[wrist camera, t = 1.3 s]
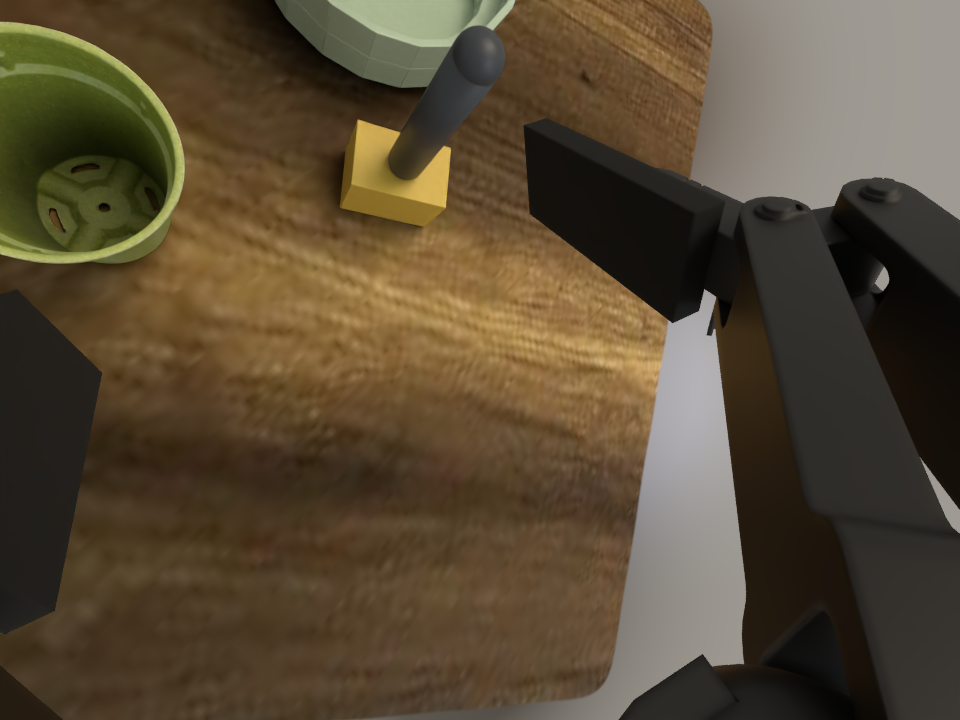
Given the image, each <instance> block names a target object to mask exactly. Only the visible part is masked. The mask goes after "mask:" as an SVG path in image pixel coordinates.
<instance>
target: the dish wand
mask: <svg viewBox="0 0 960 720" xmlns="http://www.w3.org/2000/svg"><path fill="white" fill-rule="evenodd" d="M504 64H505V51H504V47H503V44H502V42H501V40H500V38H499V37H498V35H497V34H496V33H495V32H494V31H493V30H491V29H490V28H488V27H485V26H481V25H476V26H471V27H468V28H466V29H465V30H463V31H462V32H461V33H460V34H459V35H458V36H457V38H456V39H455V41H454V43H453V44H452V46H451V48H450V49H449V51H448V53H447V55H446V56H445V58H444V60H443V61H442V63H441V65H440V66H439V68H438V70H437V72H436V73H435V75H434V77H433V78H432V80H431V82H430V83H429V85H428V87H427V89H426V90H425V92H424V94H423V95H422V97H421V99H420V100H419V102H418V104H417V106H416V107H415V109H414V111H413V112H412V114H411V116H410V118H409V119H408V121H407V123H406V124H405V126H404V128H403V129H402V131H401V133H400V132H397V131H393V130H390V129H387V128H384V127H380V126H377V125H374V124H371V123H367V122H364V121H361V120H357V123H356V125H355V128H354V130H353V133H352V136H351V138H350V141H349V143H348V146H347V149H346V152H345V162H344V171H343V181H342V191H341V201H340V208H343V209H347V210H352V211H356V212H361V213H365V214H369V215H374V216H378V217H383V218H387V219H391V220H396V221H400V222H405V223H409V224H414V225H418V226H422V227H424V226H426V225H427V224H428V223H429V222H430V221H431V220H432V219H434V218H435V217H436V216H437V215H438V214H439V213H440V212H442V211H443V210H444V209H445V208H446V199H447V187H448V176H449V165H450V154H451V148H449V147H445V146H444V145H445V144H446V142H447V141H448V140H449V139H450V138H451V136H452V135H453V134H454V133H455V131H456V130H457V129H458V128H459V127H460V125H461V124H462V123H463V122H464V120H465V119H466V118H467V117H468V116H469V114H470V113H471V112H472V111H473V109H474V108H475V107H476V106H477V105H478V103H479V102H480V101H481V100H482V98H483V97H484V96H485V95H486V94H487V92H488V91H489V90H490V89H491V87H492V86H493V85H494V84H495V83H496V81H497V80H498V79H499V77H500V75H501V74H502V71H503V68H504Z"/></svg>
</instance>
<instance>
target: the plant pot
mask: <svg viewBox="0 0 960 720" xmlns="http://www.w3.org/2000/svg"><path fill="white" fill-rule="evenodd" d="M88 163H94V164H97V165H99V167H100V168H99V169H95V170H84V171H79V172H77V173H71V171H72V168H73V167H76V166H79V165H83V164H88ZM184 177H185V163H184V153H183V148H182V144H181V140H180V137H179V134H178V131H177V129H176V127H175V125H174V122H173V120H172V119H171V117H170V115H169V113H168V111H167V110H166V108H165V107H164V105H163V104H162V102H161V101H160V100H159V98H158V97H157V96H156V94H155V93H154V92H153V91H152V90H151V89H150V88H149V87H148V86H147V84H146V83H145V82H144V81H143V80H142V79H141V78H140V77H139V76H137V75H136V74H135V73H134V72H133V71H132V70H130V69H129V68H128V67H127V66H126V65H124V64H123V63H121V62H120V61H119V60H117V59H116V58H114V57H112V56H111V55H109V54H108V53H106V52H105V51H103V50H101V49H99V48H98V47H96V46H95V45H93V44H90V43H88V42H86V41H83V40H81V39H79V38H76V37H74V36H71V35H69V34H66V33H63V32H60V31H56V30H52V29H48V28H44V27H40V26H34V25H28V24H22V23H12V22H0V254H1V255H5V256H8V257H12V258H16V259H21V260H26V261H31V262H40V263H51V264H72V263H83V262H89V261H93V262H98V263H109V264H112V263H125V262H130V261H134V260H137V259H139V258H142V257H144V256H146V255H148V254H149V253H151V252H152V251H154V250H155V249H156V248H157V247H158V246H159V245H160V244H161V242H162V241H163V240H164V238H165V236H166V234H167V232H168V230H169V227H170V223H171V214H172V212H173V211H174V209H175V207H176V205H177V203H178V201H179V198H180V195H181V192H182V188H183V183H184ZM145 187H147V188H150V189H151V190H152V191H153V192H154V193H155V197H156V199H157V201H158V203H159V209H158V210H157V211H155V210H153V207H152V204H151V201H150V198H149V197H148V195H147V194H146V193H145V191H144V188H145ZM102 203H105V204H108V205H109V206H110V210H109V211H106V212H102V211H100V210H99V205H100V204H102ZM51 208H54V209H56V211H57V214H58V217H59V219H60V222H61V224H62V225H63V228H64V229H65V230H66V231H65V233H64V232H61V231H59V230H58V228H57V227H56V226H55V225H54V224H53V222H52V221H51V219H50V216H49V210H50V209H51Z"/></svg>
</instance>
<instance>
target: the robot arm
mask: <svg viewBox="0 0 960 720" xmlns="http://www.w3.org/2000/svg"><path fill="white" fill-rule="evenodd" d="M524 136H525V151H526V165H527V180H528V194H529V209H530V214H531V215H532V216H533V217H535V218H536V219H537V220H539V221H540V222H541V223H543V224H544V225H545V226H546V227H548V228H549V229H550V230H552V231H553V232H554V233H556V234H557V235H558V236H560V237H561V238H562V239H563V240H565V241H566V242H567V243H569V244H570V245H571V246H573V247H574V248H575V249H577V250H578V251H579V252H580V253H582V254H583V255H584V256H586V257H587V258H588V259H590V260H591V261H592V262H594V263H595V264H596V265H597V266H599V267H600V268H601V269H603V270H604V271H605V272H607V273H608V274H609V275H610V276H612V277H613V278H614V279H616V280H617V281H618V282H620V283H621V284H622V285H624V286H625V287H626V288H627V289H629V290H630V291H631V292H633V293H634V294H635V295H637V296H638V297H639V298H641V299H642V300H643V301H644V302H646V303H647V304H648V305H650V306H651V307H652V308H654V309H655V310H656V311H658V312H659V313H660V314H661V315H663V316H664V317H665V318H667V319H668V320H669V321H671V322H672V323H674V322H676V321H678V320H680V319H683V318H685V317H687V316H689V315H691V314H693V313H695V312H698V311H699V308H700V304H701V300H702V296H703V292H704V289H705V290H707V291H708V292H710V293H712V294H713V295H714V296H716V301H715V305H714V309H713V312H712V316H711V320H710V323H709V327H708V332H707V335H710V336H711V335H712V333H713V329H716V338H717V347H718V355H719V363H720V372H721V380H722V388H723V396H724V405H725V414H726V422H727V430H728V439H729V447H730V455H731V464H732V472H733V481H734V489H735V497H736V505H737V514H738V523H739V531H740V539H741V546H742V547H741V548H742V556H743V564H744V572H745V581H746V603H745V609H744V616H743V623H742V625H743V626H742V644H743V657H744V664H735V665H721V666H714V667H712V666H711V665H710V664H709V662H708V661H707V660H706V658H705V657H704V655H703V654H702V655H701V656H699V657H697V658H696V659H695V660H693V661H692V662H690V663H689V664H687V665H686V666H684V667H683V668H681V669H679V670H678V671H677V672H675V673H674V674H672V675H671V676H669V677H668V678H666V679H665V680H663V681H662V682H660V683H659V684H657V685H656V686H654V687H653V688H651V689H650V690H648V691H647V692H645V693H644V694H642V695H641V696H639V697H638V698H636V699H635V700H633V702H632V703H631V704H630V706H629V707H628V708H627V710H626V711H625V712H624V713H623V715H622V716H621V717H620V719H619V720H960V533H958V532H957V531H956V530H955V529H953V528H952V527H951V525H950V523H949V522H948V520H947V518H946V517H945V514H944V512H943V510H942V508H941V505H940V503H939V501H938V498H937V496H936V494H935V492H934V489H933V487H932V485H931V482H930V480H929V478H928V475H927V473H926V471H925V468H924V466H923V464H922V462H921V459H922V460H923V462H924V463H925V464H926V466H927V467H928V468H929V470H930V471H931V472H932V474H933V475H934V476H935V478H936V479H937V480H938V482H939V483H940V484H941V486H942V487H943V488H944V490H945V491H946V492H947V494H948V495H949V496H950V497H951V499H952V500H953V501H954V503H955V504H956V505H957V507H958V508H959V509H960V220H959V219H957V218H956V217H954V216H953V215H951V214H950V213H949V212H947V211H946V210H944V209H943V208H942V207H940V206H938V205H937V204H936V203H934V202H933V201H932V200H930V199H929V198H927V197H926V196H925V195H923V194H922V193H920V192H919V191H917V190H916V189H914V188H912V187H910V186H908V185H906V184H903V183H900V182H896V181H894V180H893V179H888V178H884V179H882V178H872V179H860V180H855V181H851V182H849V183H847V184H845V185H843V187H842V189H841V191H840V194H839V196H838V199H837V201H836V204H835V206H832V207H826V208H820V209H814V210H811V209H810V208H809V207H808V206H807V205H805V204H803V203H801V202H799V201H796V200H792V199H788V198H783V197H761V198H755V199H753V200H749V201H747V202H746V203H742V202H740V201H737V200H735V199H733V198H731V197H729V196H726V195H724V194H722V193H720V192H718V191H715V190H713V189H711V188H709V187H706V186H701V184H700V183H698V182H696V181H693V180H688V178H687V177H684V176H682V175H680V174H678V173H676V172H673V171H670V170H665V169H660V168H654V167H651V166H649V165H647V164H645V163H643V162H640V161H638V160H636V159H634V158H632V157H630V156H628V155H625V154H623V153H621V152H619V151H617V150H615V149H612V148H610V147H608V146H606V145H604V144H602V143H600V142H597V141H595V140H593V139H591V138H589V137H587V136H584V135H582V134H580V133H578V132H576V131H574V130H571V129H569V128H567V127H565V126H563V125H561V124H559V123H556V122H554V121H552V120H550V119H548V118H545V119H542V120H539V121H536V122H533V123H530V124H527V125H524ZM883 267H885V268H886V270H887V271H888V275H889V284H888V285H887V287H886V288H885V289H884V291H882V290H880V289H879V288H878V287H877V286H876V284H875V282H876V280H877V278H878V276H879V274H880V272H881V270H882V269H883ZM101 376H102V372H101V371H100V370H99V369H98V368H97V367H96V366H95V365H94V364H93V363H92V362H91V361H89V360H88V359H87V358H86V357H85V356H84V355H83V354H82V353H81V352H80V351H79V350H78V349H77V348H76V347H75V346H74V345H73V344H72V343H71V342H70V341H69V340H68V339H67V338H66V337H65V336H64V335H63V334H62V333H61V332H60V331H59V330H58V329H57V328H56V327H55V326H54V325H53V324H52V323H51V322H50V321H49V320H48V319H47V318H46V317H45V316H44V315H42V314H41V313H40V312H39V311H38V310H37V309H36V308H35V307H34V306H33V305H32V304H31V303H30V302H29V301H28V300H27V299H26V298H25V297H24V296H23V295H22V294H21V293H20V292H19V291H18V290H14V291H11V292H8V293H5V294H2V295H0V633H3V634H6V633H8V632H10V631H13V630H15V629H17V628H19V627H21V626H23V625H25V624H28V623H30V622H32V621H34V620H36V619H38V618H40V617H43V616H45V615H47V614H49V613H51V612H53V611H55V607H56V602H57V597H58V592H59V587H60V582H61V577H62V572H63V567H64V562H65V557H66V552H67V547H68V542H69V537H70V532H71V527H72V522H73V517H74V512H75V507H76V502H77V497H78V492H79V487H80V482H81V477H82V472H83V466H84V461H85V456H86V451H87V446H88V441H89V436H90V431H91V426H92V421H93V416H94V411H95V406H96V401H97V396H98V391H99V386H100V381H101ZM920 458H921V459H920ZM0 720H62V719H61V718H60V717H59V716H58V715H57V714H56V713H54V712H53V711H52V710H51V709H50V708H49V707H47V706H46V705H45V704H44V703H43V702H42V701H41V700H39V699H38V698H37V697H36V696H35V695H34V694H32V693H31V692H30V691H29V690H28V689H27V688H25V687H24V686H23V685H22V684H21V683H20V682H19V681H17V680H16V679H15V678H14V677H13V676H12V675H10V674H9V673H8V672H7V671H6V670H5V669H4V668H2V667H1V666H0Z"/></svg>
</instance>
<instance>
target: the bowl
mask: <svg viewBox="0 0 960 720" xmlns="http://www.w3.org/2000/svg"><path fill="white" fill-rule="evenodd" d="M275 2H276V4H277V5H278V7H279V8H280V10H281V12H282V13H283V15H284V17H285V18H286V19H287V20H288V21H289V22H290V23H291V24H292V25H293V26H294V27H295V28H296V29H297V30H298V31H299V32H300V33H301V34H302V35H303V36H304V37H305V38H306V39H307V40H308V41H309V42H310V43H311V44H312V45H313V46H314V47H315V48H316V49H317V50H318V51H319V52H320V53H322V54H323V55H324V56H326V57H328V58H329V59H331V60H333V61H334V62H336V63H338V64H339V65H341V66H343V67H344V68H346V69H348V70H349V71H351V72H353V73H355V74H356V75H358V76H360V77H362V78H366V79H369V80H373V81H376V82H380V83H384V84H387V85H391V86H394V87H398V88H399V87H400V88H408V87H428V85H429V83H430V82H431V80H432V78H433V77H434V75H435V73H436V72H437V70H438V68H439V66H440V65H441V63H442V61H443V60H444V58H445V56H446V55H447V53H448V51H449V49H450V48H451V46H452V44H453V43H454V41H455V39H456V38H457V36H458V35H459V34H460V33H461V32H462V31H463V30H465V29H466V28H468V27H471V26H476V25H481V26H485V27H488V28H490V29H491V30H493V31H494V32H495V33H496V31H497V30H498V28H499V27H500V26H501V24H502V23H503V21H504V20H505V18H506V17H507V16H508V14H509V13H510V11H511V10H512V8H513V5H514V2H515V0H275Z"/></svg>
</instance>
